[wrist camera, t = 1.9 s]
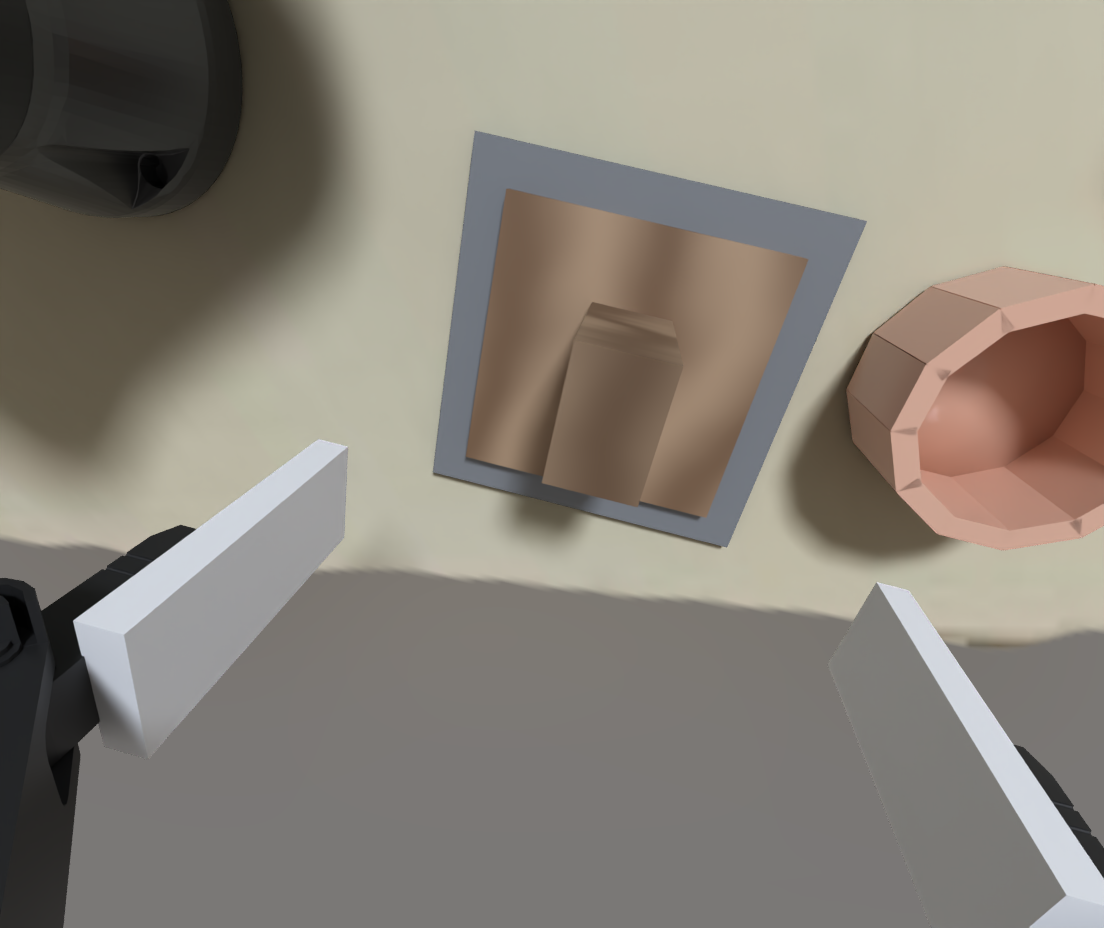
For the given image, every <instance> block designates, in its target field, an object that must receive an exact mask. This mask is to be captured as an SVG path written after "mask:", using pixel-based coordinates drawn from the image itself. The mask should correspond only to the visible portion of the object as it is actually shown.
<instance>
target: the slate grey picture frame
mask: <svg viewBox="0 0 1104 928" xmlns="http://www.w3.org/2000/svg"><path fill="white" fill-rule="evenodd" d="M506 189H513V190H518V191H522V192H526V193H530V194H535V195H539V196H543V197H547V198H552V199H556V200H560V201H565V202H569V203H573V204H577V205H582V206H586V207H590V208H594V209H599V210H603V211H607V212H611V213H616V214H620V215H624V216H629V217H633V218H637V219H641V220H646V221H650V222H654V223H658V224H663V225H667V226H671V227H676V228H680V229H684V230H688V231H693V232H697V233H701V234H705V235H710V236H714V237H718V238H722V239H727V240H731V241H735V242H740V243H744V244H748V245H752V246H757V247H761V248H765V249H769V250H774V251H778V252H782V253H787V254H791V255H795V256H799V257H804V258H806V259H809V260H808V262H807V265H806V267H805V270H804V272H803V275H802V278H801V280H800V283H799V285H798V288H797V290H796V293H795V295H794V298H793V300H792V303H791V305H790V308H789V310H788V313H787V315H786V318H785V320H784V323H783V325H782V328H781V331H780V333H779V336H778V338H777V341H776V343H775V346H774V348H773V351H772V353H771V356H770V358H769V361H768V363H767V366H766V368H765V371H764V373H763V376H762V378H761V381H760V384H759V386H758V389H757V391H756V394H755V396H754V399H753V401H752V404H751V406H750V409H749V411H748V414H747V416H746V419H745V421H744V424H743V426H742V429H741V432H740V434H739V437H738V439H737V442H736V444H735V447H734V449H733V452H732V454H731V457H730V459H729V462H728V464H727V467H726V469H725V472H724V474H723V477H722V479H721V482H720V485H719V487H718V490H717V492H716V495H715V497H714V500H713V502H712V505H711V507H710V510H709V512H708V515H707V517H706V518H705V517H701V516H697V515H693V514H689V513H685V512H681V511H677V510H673V509H669V508H665V507H661V506H657V505H653V504H650V503H646V502H642V501H640V502H639V505H638V507H634V506H630V505H626V504H622V503H618V502H614V501H610V500H606V499H602V498H598V497H595V496H591V495H587V494H583V493H579V492H575V491H571V490H567V489H563V488H559V487H555V486H551V485H547V484H544V483H542V479H543V476H539V475H535V474H532V473H528V472H524V471H520V470H516V469H512V468H508V467H504V466H500V465H496V464H492V463H488V462H484V461H480V460H477V459H473V458H469V457H466V452H467V445H468V439H469V432H470V425H471V419H472V412H473V405H474V399H475V392H476V386H477V379H478V372H479V366H480V359H481V353H482V346H483V339H484V333H485V326H486V319H487V313H488V306H489V300H490V293H491V286H492V280H493V273H494V267H495V260H496V253H497V247H498V240H499V233H500V227H501V220H502V214H503V207H504V200H505V194H506ZM866 222H867V221H864V220H860V219H855V218H851V217H847V216H842V215H838V214H834V213H829V212H825V211H821V210H816V209H812V208H808V207H803V206H799V205H795V204H790V203H786V202H782V201H777V200H773V199H769V198H764V197H760V196H756V195H751V194H747V193H743V192H738V191H734V190H730V189H725V188H721V187H717V186H712V185H708V184H704V183H699V182H695V181H691V180H686V179H682V178H678V177H673V176H669V175H665V174H660V173H656V172H652V171H647V170H643V169H639V168H634V167H630V166H626V165H621V164H617V163H613V162H608V161H604V160H600V159H595V158H591V157H587V156H582V155H578V154H574V153H569V152H565V151H561V150H556V149H552V148H548V147H543V146H539V145H535V144H530V143H526V142H522V141H517V140H513V139H509V138H504V137H500V136H496V135H491V134H487V133H483V132H478V131H475V134H474V142H473V150H472V158H471V167H470V175H469V183H468V191H467V199H466V207H465V216H464V224H463V232H462V240H461V248H460V256H459V264H458V273H457V281H456V289H455V297H454V305H453V313H452V322H451V330H450V338H449V346H448V354H447V362H446V370H445V379H444V387H443V395H442V403H441V411H440V419H439V428H438V436H437V444H436V452H435V460H434V468H433V472H434V473H438V474H442V475H446V476H450V477H454V478H458V479H462V480H465V481H469V482H473V483H477V484H481V485H485V486H489V487H493V488H497V489H501V490H505V491H508V492H512V493H516V494H520V495H524V496H528V497H532V498H536V499H540V500H544V501H548V502H551V503H555V504H559V505H563V506H567V507H571V508H575V509H579V510H583V511H587V512H590V513H594V514H598V515H602V516H606V517H610V518H614V519H618V520H622V521H626V522H630V523H633V524H637V525H641V526H645V527H649V528H653V529H657V530H661V531H665V532H669V533H673V534H676V535H680V536H684V537H688V538H692V539H696V540H700V541H704V542H708V543H712V544H715V545H719V546H723V547H727V546H728V544H729V542H730V539H731V537H732V535H733V532H734V530H735V528H736V525H737V523H738V521H739V518H740V516H741V514H742V511H743V509H744V507H745V504H746V502H747V500H748V497H749V495H750V493H751V490H752V488H753V486H754V484H755V481H756V479H757V477H758V474H759V472H760V470H761V467H762V465H763V463H764V460H765V458H766V456H767V453H768V451H769V449H770V446H771V444H772V442H773V439H774V437H775V435H776V432H777V430H778V428H779V425H780V423H781V421H782V418H783V416H784V414H785V411H786V409H787V407H788V404H789V402H790V400H791V397H792V395H793V393H794V390H795V388H796V386H797V383H798V381H799V379H800V376H801V374H802V372H803V369H804V367H805V365H806V362H807V360H808V358H809V355H810V353H811V351H812V348H813V346H814V344H815V341H816V339H817V337H818V334H819V332H820V330H821V327H822V325H823V323H824V320H825V318H826V316H827V313H828V311H829V309H830V306H831V304H832V302H833V299H834V297H835V295H836V292H837V290H838V288H839V285H840V283H841V281H842V278H843V276H844V274H845V271H846V269H847V267H848V264H849V262H850V260H851V257H852V255H853V253H854V250H855V248H856V246H857V243H858V241H859V239H860V236H861V234H862V232H863V229H864V227H865V225H866Z"/></svg>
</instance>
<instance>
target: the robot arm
mask: <svg viewBox="0 0 1104 928" xmlns="http://www.w3.org/2000/svg"><path fill="white" fill-rule="evenodd" d="M241 104H242V70H241V59H240V51H239V45H238V40H237V34H236V30H235V26H234V21H233V17H232V14H231V11H230V7H229V4H228V1H227V0H0V188H1V189H4V190H7V191H10V192H13V193H16V194H19V195H23V196H26V197H29V198H32V199H35V200H38V201H41V202H44V203H47V204H50V205H53V206H56V207H60V208H63V209H66V210H69V211H73V212H76V213H80V214H85V215H91V216H98V217H107V218H122V217H147V216H157V215H163V214H167V213H170V212H173V211H176V210H179V209H181V208H183V207H185V206H187V205H189V204H190V203H192V202H193V201H195V200H196V199H197V198H199V197H200V196H201V195H202V194H203V193H204V192H205V191H206V190H207V189H208V188H209V187H210V186H211V185H212V184H213V183H214V181H215V180H216V179H217V177H218V176H219V174H220V173H221V171H222V170H223V168H224V166H225V164H226V162H227V160H228V158H229V155H230V153H231V151H232V148H233V145H234V142H235V138H236V134H237V131H238V126H239V120H240V113H241ZM347 458H348V447H347V446H343V445H340V444H336V443H332V442H328V441H324V440H320V439H318V440H317V441H315V442H314V443H313V444H311V445H310V446H308V447H307V448H306V449H304V450H303V451H302V452H300V453H299V454H298V455H296V456H295V457H294V458H292V459H291V460H290V461H288V462H287V463H285V464H284V465H283V466H281V467H280V468H279V469H277V470H276V471H275V472H273V473H272V474H271V475H269V476H268V477H267V478H265V479H264V480H263V481H261V482H260V483H258V484H257V485H256V486H254V487H253V488H252V489H250V490H249V491H248V492H246V493H245V494H244V495H242V496H241V497H240V498H238V499H237V500H235V501H234V502H233V503H231V504H230V505H229V506H227V507H226V508H225V509H223V510H222V511H221V512H219V513H218V514H217V515H215V516H214V517H213V518H211V519H210V520H208V521H207V522H206V523H204V524H203V525H202V526H200V527H199V528H198V529H194V528H191V527H187V526H183V525H179V526H176V527H174V528H171V529H168V530H166V531H163V532H160V533H158V534H155V535H152V536H150V537H149V538H147V539H146V540H144V541H143V542H141V543H140V544H138V545H137V546H136V547H134V548H133V549H131V550H130V551H128V552H127V554H126V556H121V557H120V558H118V559H117V560H115V561H114V562H112V563H111V564H109V565H108V566H107V569H106V570H101V571H99V572H98V573H96V574H95V575H93V576H92V577H90V578H89V579H87V580H86V581H85V582H83V583H82V584H80V585H79V586H77V587H76V588H74V589H73V590H71V591H70V592H68V593H67V594H65V595H64V596H63V597H61V598H60V599H58V600H57V601H55V602H54V603H53V604H51V605H49V606H48V607H47V608H45V609H44V610H42V611H41V609H40V606H39V602H38V599H37V595H36V591H35V589H34V588H33V587H31V586H30V585H28V584H27V583H25V582H24V581H19V580H14V579H8V578H0V928H63V924H64V914H65V904H66V895H67V894H66V893H67V884H68V875H69V865H70V855H71V845H72V835H73V825H74V815H75V804H76V795H77V785H78V774H79V765H80V751H79V746H78V742H79V741H80V740H81V739H82V738H83V737H84V736H85V735H86V734H87V733H88V732H89V731H90V730H92V729H93V728H94V727H95V726H96V724H99V728H100V732H101V736H102V740H103V744H104V747H107V748H110V749H114V750H117V751H121V752H124V753H128V754H131V755H135V756H138V757H142V758H146V759H149V758H150V757H151V755H152V754H153V753H154V752H155V751H156V750H157V749H158V748H159V746H160V745H161V744H162V743H163V742H164V741H165V740H166V738H167V737H168V736H169V735H170V734H171V733H172V732H173V731H174V729H175V728H176V727H177V726H178V725H179V724H180V723H181V722H182V720H183V719H184V718H185V717H186V716H187V715H188V714H189V713H190V711H191V710H192V709H193V708H194V707H195V706H196V705H197V703H198V702H199V701H200V700H201V699H202V698H203V697H204V696H205V694H206V693H207V692H208V691H209V690H210V689H211V688H212V686H213V685H214V684H215V683H216V682H217V681H218V680H219V678H220V677H221V676H222V675H223V674H224V673H225V672H226V671H227V669H228V668H229V667H230V666H231V665H232V664H233V662H234V661H235V660H236V659H237V658H238V657H239V656H240V655H241V654H242V652H243V651H244V650H245V649H246V648H247V647H248V645H250V643H251V642H252V641H253V640H254V639H255V638H256V637H257V636H258V634H259V633H260V632H261V631H262V630H263V629H264V627H265V626H266V625H267V624H268V623H269V622H270V621H271V620H272V619H273V617H274V616H275V615H276V614H277V613H278V612H279V610H281V608H282V607H283V606H284V605H285V604H286V603H287V602H288V600H289V599H290V598H291V597H292V596H293V595H294V594H295V593H296V591H297V590H298V589H299V588H300V587H301V585H303V583H304V582H305V581H306V580H307V579H308V578H309V576H310V575H311V574H312V573H313V572H314V571H315V570H316V569H317V568H318V567H319V565H320V564H321V563H322V562H323V561H324V560H325V559H326V557H327V556H328V555H329V554H330V553H331V552H332V551H333V550H334V548H335V547H336V546H337V545H338V544H339V543H340V542H341V540H342V539H343V538H344V530H345V506H346V482H347ZM828 668H829V670H830V672H831V675H832V678H833V680H834V683H835V685H836V688H837V690H838V693H839V696H840V698H841V700H842V703H843V706H844V708H845V711H846V713H847V715H848V718H849V721H850V723H851V726H852V728H853V731H854V734H855V736H856V739H857V741H858V744H859V746H860V749H861V751H862V754H863V756H864V759H865V762H866V764H867V767H868V769H869V772H870V774H871V777H872V779H873V782H874V784H875V787H876V789H877V792H878V795H879V797H880V800H881V802H882V805H883V807H884V810H885V812H886V815H887V817H888V820H889V823H890V825H891V828H892V830H893V832H894V835H895V838H896V840H897V843H898V845H899V848H900V850H901V853H902V856H903V858H904V861H905V863H906V866H907V868H908V871H909V873H910V876H911V878H912V881H913V884H914V886H915V889H916V891H917V894H918V896H919V899H920V901H921V904H922V906H923V909H924V912H925V914H926V916H927V919H928V921H929V924H930V927H931V928H1104V848H1103V846H1102V845H1101V844H1100V842H1099V841H1098V839H1097V838H1096V837H1094V836H1092V835H1091V829H1090V828H1089V827H1088V825H1087V824H1086V823H1085V821H1084V820H1083V818H1082V817H1081V815H1080V814H1079V812H1077V811H1074V810H1073V806H1074V805H1073V804H1072V803H1071V801H1070V800H1069V798H1068V797H1067V796H1066V794H1065V793H1064V791H1063V790H1062V788H1061V787H1060V786H1059V784H1058V783H1057V781H1056V780H1055V779H1054V777H1053V776H1052V775H1051V774H1050V773H1049V772H1048V771H1047V770H1046V769H1045V768H1044V767H1043V766H1042V765H1041V764H1040V763H1039V762H1038V761H1037V760H1036V759H1035V758H1034V757H1033V756H1032V755H1030V753H1029V752H1028V751H1026V749H1025V748H1023V747H1020V746H1017V745H1013V744H1012V742H1011V741H1010V739H1009V738H1008V737H1007V735H1006V733H1005V732H1004V730H1003V729H1002V727H1001V726H1000V724H999V723H998V722H997V720H996V719H995V717H994V716H993V714H992V713H991V711H990V710H989V708H988V707H987V705H986V704H985V702H984V701H983V699H982V698H981V696H980V695H979V693H978V692H977V690H976V689H975V688H974V686H973V684H972V683H971V682H970V680H969V679H968V677H967V676H966V675H965V673H964V671H963V670H962V668H961V667H960V665H959V664H958V662H957V661H956V659H955V658H954V656H953V655H952V654H951V652H950V650H949V649H948V648H947V646H946V645H945V643H944V642H943V640H942V639H941V637H940V636H939V634H938V633H937V631H936V630H935V628H934V627H933V625H932V624H931V622H930V621H929V619H928V618H927V616H926V615H925V613H924V612H923V611H922V609H921V608H920V606H919V605H918V603H917V602H916V600H915V599H914V597H913V596H912V594H911V593H910V591H909V590H905V589H902V588H898V587H894V586H890V585H886V584H882V583H878V582H876V584H875V586H874V587H873V589H872V591H871V592H870V594H869V596H868V597H867V599H866V601H865V602H864V604H863V606H862V608H861V609H860V611H859V613H858V614H857V616H856V618H855V619H854V621H853V623H852V624H851V626H850V628H849V629H848V631H847V633H846V634H845V636H844V638H843V639H842V641H841V643H840V645H839V646H838V648H837V650H836V651H835V653H834V655H833V656H832V658H831V660H830V661H829V663H828Z"/></svg>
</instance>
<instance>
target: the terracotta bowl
mask: <svg viewBox="0 0 1104 928" xmlns="http://www.w3.org/2000/svg"><path fill="white" fill-rule="evenodd" d="M846 392H847V400H848V408H849V416H850V425H851V433H852V441H853V443H854V444H855V445H856V446H857V447H858V448H859V450H860V451H861V452H862V453H863V454H864V455H865V456H866V458H867V459H868V460H869V461H870V462H871V463H872V465H873V466H874V467H875V468H876V469H877V470H878V472H879V473H880V474H881V475H882V476H883V477H884V479H885V480H886V481H887V482H888V483H889V484H890V486H891V487H892V488H893V489H894V490H895V491H896V492H897V494H898V495H899V496H900V497H901V498H902V499H903V500H904V501H905V502H906V503H907V504H908V505H909V506H910V507H911V508H912V509H913V510H914V511H915V512H916V513H917V514H918V515H919V516H920V517H921V518H922V519H923V520H924V521H925V522H926V523H927V524H928V525H929V526H930V527H931V528H932V530H933V531H934V532H935V533H936V534H939V535H943V536H947V537H951V538H955V539H959V540H963V541H967V542H971V543H975V544H979V545H983V546H987V547H991V548H995V549H999V550H1009V549H1016V548H1022V547H1028V546H1034V545H1041V544H1047V543H1053V542H1059V541H1066V540H1072V539H1078V538H1081V537H1084V536H1086V535H1088V534H1090V533H1091V532H1093V531H1095V530H1097V529H1099V528H1100V527H1102V526H1104V286H1102V285H1097V284H1093V283H1087V282H1082V281H1077V280H1072V279H1067V278H1062V277H1057V276H1052V275H1046V274H1041V273H1036V272H1031V271H1026V270H1021V269H1016V268H1011V267H1005V266H1003V267H999V268H995V269H992V270H988V271H984V272H981V273H977V274H974V275H970V276H966V277H963V278H959V279H955V280H952V281H948V282H944V283H941V284H937V285H933V286H931V287H929V288H928V289H926V290H925V291H924V292H923V293H922V294H920V295H919V296H918V297H917V298H915V299H914V300H913V301H912V302H910V303H909V304H908V305H907V306H906V307H904V308H903V309H902V310H901V311H899V312H898V313H897V314H896V315H894V316H893V317H892V318H891V319H890V320H888V321H887V322H886V323H885V324H883V325H882V326H881V327H880V328H878V329H877V330H876V331H875V332H874V333H873V334H872V336H871V338H870V340H869V343H868V345H867V347H866V349H865V351H864V353H863V355H862V357H861V359H860V362H859V364H858V366H857V368H856V370H855V372H854V374H853V376H852V378H851V381H850V383H849V385H848V387H847V390H846Z"/></svg>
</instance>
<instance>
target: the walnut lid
mask: <svg viewBox="0 0 1104 928" xmlns="http://www.w3.org/2000/svg"><path fill="white" fill-rule="evenodd" d="M808 260H809V259H806V258H804V257H799V256H795V255H791V254H787V253H782V252H778V251H774V250H769V249H765V248H761V247H757V246H752V245H748V244H744V243H740V242H735V241H731V240H727V239H722V238H718V237H714V236H710V235H705V234H701V233H697V232H693V231H688V230H684V229H680V228H676V227H671V226H667V225H663V224H658V223H654V222H650V221H646V220H641V219H637V218H633V217H629V216H624V215H620V214H616V213H611V212H607V211H603V210H599V209H594V208H590V207H586V206H582V205H577V204H573V203H569V202H565V201H560V200H556V199H552V198H547V197H543V196H539V195H535V194H530V193H526V192H522V191H518V190H513V189H506V194H505V200H504V207H503V214H502V220H501V227H500V233H499V240H498V247H497V253H496V260H495V267H494V273H493V280H492V286H491V293H490V300H489V306H488V313H487V319H486V326H485V333H484V339H483V346H482V353H481V359H480V366H479V372H478V379H477V386H476V392H475V399H474V405H473V412H472V419H471V425H470V432H469V439H468V445H467V452H466V457H469V458H473V459H477V460H480V461H484V462H488V463H492V464H496V465H500V466H504V467H508V468H512V469H516V470H520V471H524V472H528V473H532V474H535V475H539V476H543V479H542V483H544V484H547V485H551V486H555V487H559V488H563V489H567V490H571V491H575V492H579V493H583V494H587V495H591V496H595V497H598V498H602V499H606V500H610V501H614V502H618V503H622V504H626V505H630V506H634V507H638V505H639V502H640V501H642V502H646V503H650V504H653V505H657V506H661V507H665V508H669V509H673V510H677V511H681V512H685V513H689V514H693V515H697V516H701V517H705V518H706V517H707V515H708V512H709V510H710V507H711V505H712V502H713V500H714V497H715V495H716V492H717V490H718V487H719V485H720V482H721V479H722V477H723V474H724V472H725V469H726V467H727V464H728V462H729V459H730V457H731V454H732V452H733V449H734V447H735V444H736V442H737V439H738V437H739V434H740V432H741V429H742V426H743V424H744V421H745V419H746V416H747V414H748V411H749V409H750V406H751V404H752V401H753V399H754V396H755V394H756V391H757V389H758V386H759V384H760V381H761V378H762V376H763V373H764V371H765V368H766V366H767V363H768V361H769V358H770V356H771V353H772V351H773V348H774V346H775V343H776V341H777V338H778V336H779V333H780V331H781V328H782V325H783V323H784V320H785V318H786V315H787V313H788V310H789V308H790V305H791V303H792V300H793V298H794V295H795V293H796V290H797V288H798V285H799V283H800V280H801V278H802V275H803V272H804V270H805V267H806V265H807V262H808Z"/></svg>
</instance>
